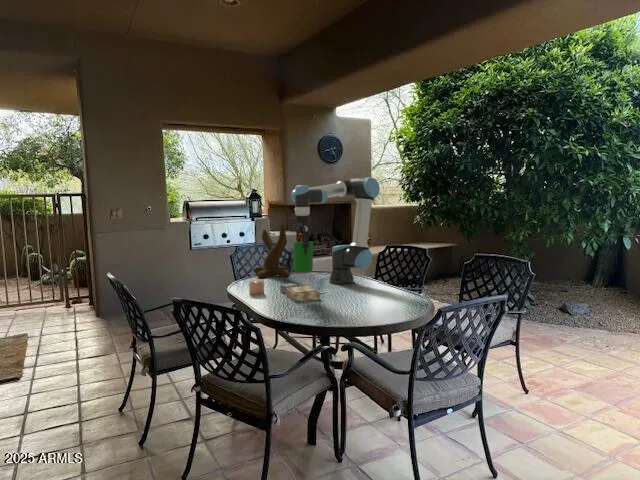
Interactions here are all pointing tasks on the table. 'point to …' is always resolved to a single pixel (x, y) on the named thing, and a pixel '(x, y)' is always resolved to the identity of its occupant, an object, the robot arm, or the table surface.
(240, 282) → the table surface
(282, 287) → the grey stone block
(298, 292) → the plinth
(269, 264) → the wooden stand
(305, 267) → the motor
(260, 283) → the tan rounded cylinder
